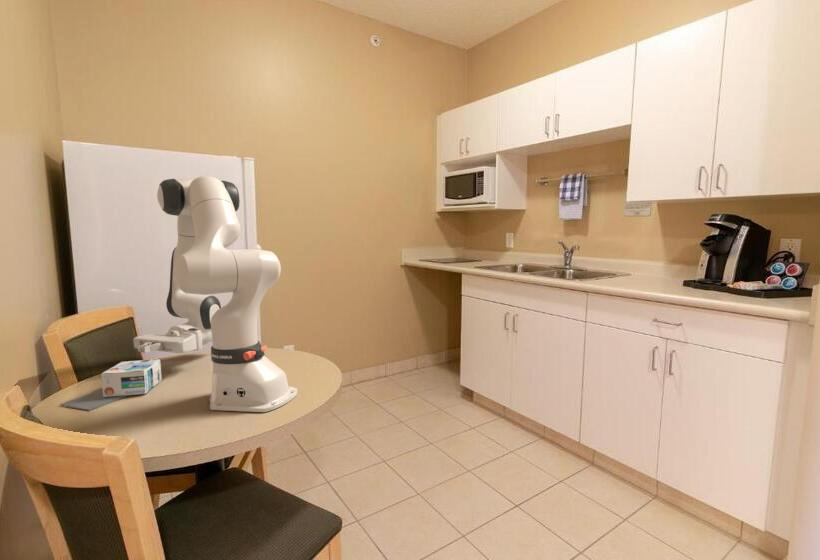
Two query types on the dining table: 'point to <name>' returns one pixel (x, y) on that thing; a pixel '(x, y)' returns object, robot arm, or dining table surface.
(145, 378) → the light bulb box
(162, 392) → the dining table surface
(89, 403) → the mat
